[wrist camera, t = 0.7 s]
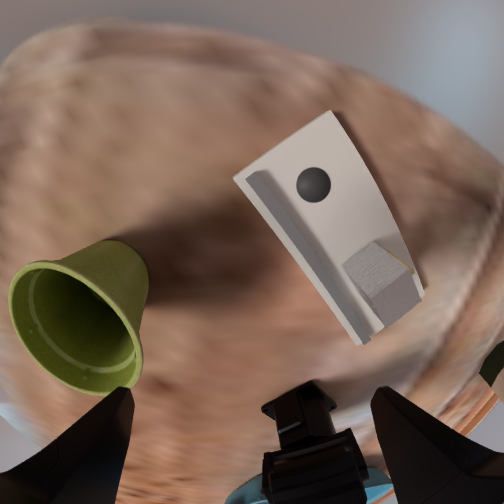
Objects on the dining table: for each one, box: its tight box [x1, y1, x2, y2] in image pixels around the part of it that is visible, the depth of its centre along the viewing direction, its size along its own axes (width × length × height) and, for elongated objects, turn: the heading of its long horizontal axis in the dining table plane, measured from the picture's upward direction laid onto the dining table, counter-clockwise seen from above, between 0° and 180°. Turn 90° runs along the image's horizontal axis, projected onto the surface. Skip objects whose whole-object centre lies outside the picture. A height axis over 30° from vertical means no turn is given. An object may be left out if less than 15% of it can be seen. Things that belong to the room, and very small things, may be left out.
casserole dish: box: [225, 468, 394, 504], centre depth 35 cm, size 37×22×7 cm, turn 64°
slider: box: [341, 242, 421, 329], centre depth 17 cm, size 3×4×5 cm
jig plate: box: [233, 110, 425, 346], centre depth 20 cm, size 18×8×2 cm, turn 37°
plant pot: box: [8, 241, 149, 396], centre depth 16 cm, size 9×9×9 cm
